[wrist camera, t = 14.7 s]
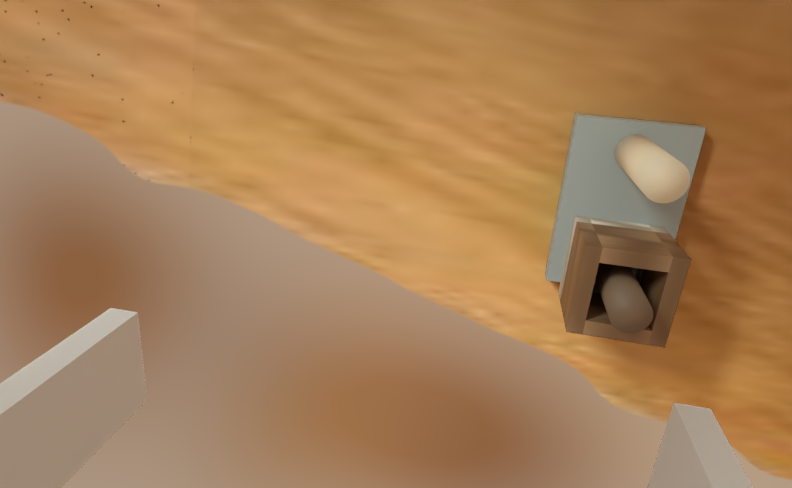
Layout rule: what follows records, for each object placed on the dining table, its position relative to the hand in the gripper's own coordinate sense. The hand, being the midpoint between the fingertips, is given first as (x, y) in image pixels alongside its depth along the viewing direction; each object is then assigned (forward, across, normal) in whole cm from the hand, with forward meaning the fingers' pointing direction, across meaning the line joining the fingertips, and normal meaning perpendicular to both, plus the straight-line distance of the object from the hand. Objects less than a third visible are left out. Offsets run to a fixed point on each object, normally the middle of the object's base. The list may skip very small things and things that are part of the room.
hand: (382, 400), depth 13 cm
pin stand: (+29, +11, -2) cm, 31 cm away
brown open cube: (+28, +11, -6) cm, 30 cm away
